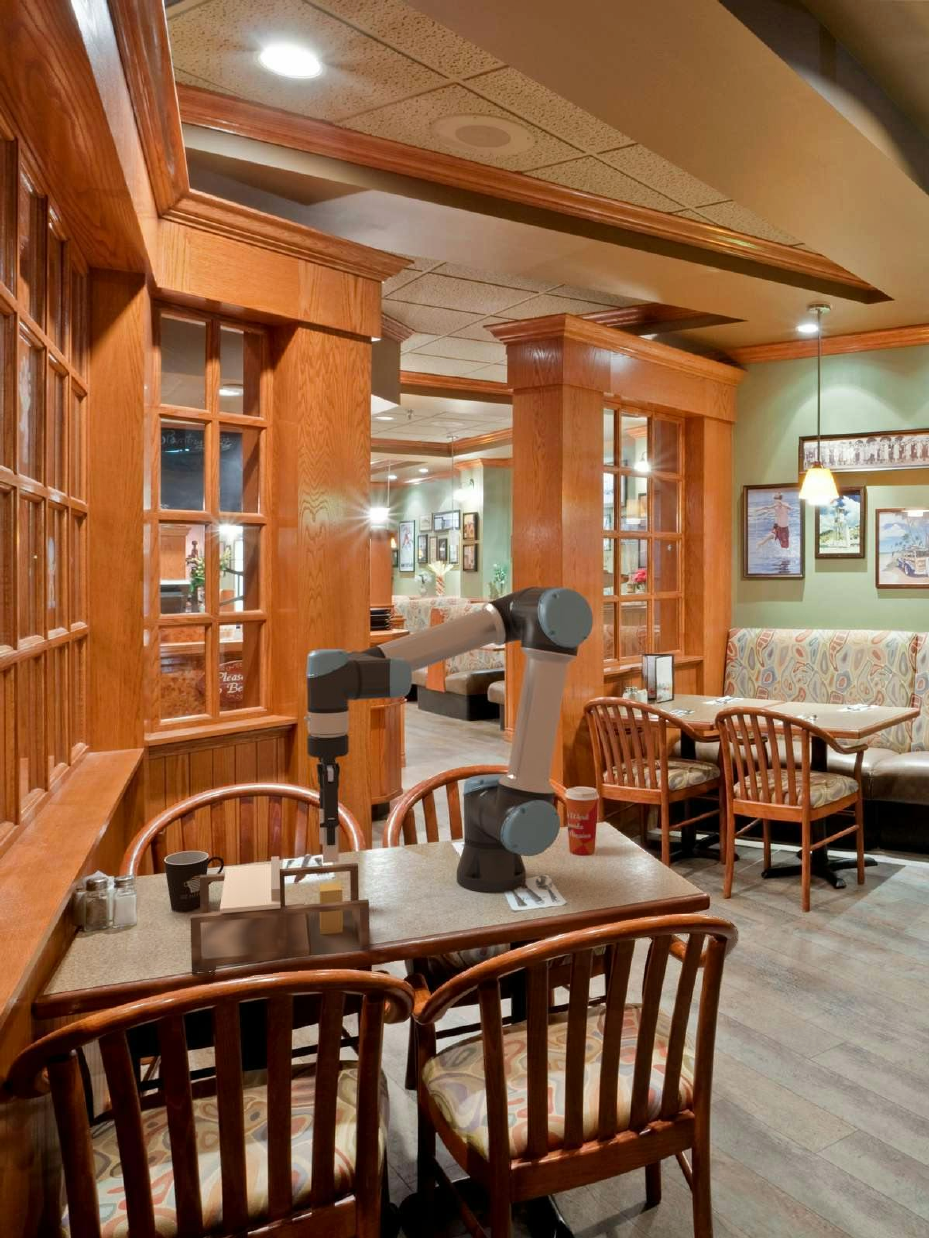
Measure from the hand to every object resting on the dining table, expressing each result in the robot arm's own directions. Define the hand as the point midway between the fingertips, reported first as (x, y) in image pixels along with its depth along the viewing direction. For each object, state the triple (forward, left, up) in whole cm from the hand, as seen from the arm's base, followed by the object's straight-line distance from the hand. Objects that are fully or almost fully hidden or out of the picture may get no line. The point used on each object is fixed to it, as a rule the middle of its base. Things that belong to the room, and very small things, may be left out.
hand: (328, 852), depth 164 cm
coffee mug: (+26, -22, -16) cm, 37 cm away
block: (0, 0, -15) cm, 15 cm away
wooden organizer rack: (+9, 0, -16) cm, 18 cm away
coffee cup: (-62, -36, -16) cm, 73 cm away
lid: (+14, 0, -6) cm, 15 cm away
